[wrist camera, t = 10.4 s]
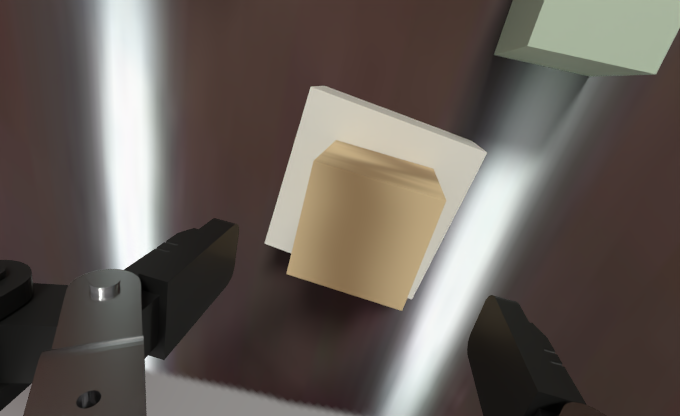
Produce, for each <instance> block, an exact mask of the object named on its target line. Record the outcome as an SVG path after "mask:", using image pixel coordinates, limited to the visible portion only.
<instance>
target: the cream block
mask: <svg viewBox="0 0 680 416" xmlns="http://www.w3.org/2000/svg"><path fill="white" fill-rule="evenodd" d="M336 140H338V141H341V142H345V143H348V144H352V145H355V146H358V147H362V148H365V149H368V150H372V151H375V152H379V153H382V154H385V155H389V156H392V157H396V158H399V159H402V160H406V161H409V162H413V163H416V164H419V165H423V166H426V167H429V168H433V169H434V171H435V174H436V176H437V179H438V181H439V184H440V186H441V188H442V191H443V193H444V196H445V198H446V203H445V205H444V208H443V210H442V213H441V215H440V218H439V220H438V223H437V225H436V228H435V230H434V233H433V235H432V238H431V240H430V243H429V245H428V248H427V250H426V253H425V255H424V258H423V260H422V262H421V265H420V267H419V270H418V272H417V275H416V277H415V280H414V282H413V285H412V287H411V290H410V292H409V295H408V297H407V298H409V299H412V298H413V296H414V294H415V292H416V290H417V288H418V286H419V285H420V283H421V281H422V279H423V277H424V275H425V273H426V271H427V269H428V267H429V265H430V263H431V261H432V259H433V257H434V255H435V253H436V251H437V250H438V248H439V246H440V244H441V242H442V240H443V238H444V236H445V234H446V232H447V230H448V228H449V226H450V224H451V222H452V220H453V218H454V216H455V214H456V213H457V211H458V209H459V207H460V205H461V203H462V201H463V199H464V197H465V195H466V193H467V191H468V189H469V187H470V185H471V183H472V181H473V179H474V177H475V176H476V174H477V172H478V170H479V168H480V166H481V164H482V162H483V160H484V158H485V156H486V154H487V152H486V151H485V150H483V149H482V148H481V147H479V146H478V145H477V144H475V143H474V142H473V141H471V140H468V139H466V138H463V137H460V136H458V135H455V134H452V133H450V132H447V131H444V130H442V129H439V128H436V127H434V126H431V125H428V124H425V123H423V122H420V121H417V120H415V119H412V118H409V117H407V116H404V115H401V114H399V113H396V112H393V111H391V110H388V109H385V108H383V107H380V106H377V105H375V104H372V103H369V102H367V101H364V100H361V99H359V98H356V97H353V96H351V95H348V94H345V93H342V92H340V91H337V90H334V89H332V88H329V87H326V86H313V87H311V88H310V91H309V95H308V98H307V101H306V105H305V108H304V111H303V115H302V118H301V122H300V125H299V128H298V132H297V135H296V139H295V142H294V145H293V149H292V152H291V156H290V159H289V162H288V166H287V169H286V173H285V176H284V179H283V183H282V186H281V190H280V193H279V196H278V200H277V203H276V206H275V210H274V213H273V217H272V220H271V223H270V227H269V230H268V234H267V237H266V240H265V244H267V245H270V246H273V247H275V248H278V249H281V250H283V251H286V252H288V253H292V249H293V244H294V240H295V236H296V232H297V228H298V224H299V219H300V215H301V211H302V207H303V203H304V198H305V194H306V190H307V186H308V182H309V178H310V173H311V169H312V165H313V161H314V160H315V159H316V158H317V157H318V156H319V155H320V154H321V153H322V152H324V151H325V150H326V149H327V148H328V147H329V146H330V145H331V144H332V143H333V142H335V141H336Z"/></svg>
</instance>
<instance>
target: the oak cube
mask: <svg viewBox="0 0 680 416" xmlns="http://www.w3.org/2000/svg"><path fill="white" fill-rule="evenodd" d="M445 203H446V198H445V196H444V193H443V191H442V188H441V186H440V184H439V181H438V179H437V176H436V174H435V171H434V169H433V168H429V167H426V166H423V165H419V164H416V163H413V162H409V161H406V160H402V159H399V158H396V157H392V156H389V155H385V154H382V153H379V152H375V151H372V150H368V149H365V148H362V147H358V146H355V145H352V144H348V143H345V142H341V141H338V140H336V141H335V142H333V143H332V144H331V145H330V146H329V147H328V148H327V149H326V150H325V151H324V152H322V153H321V154H320V155H319V156H318V157H317V158H316V159H315V160H314V161H313V165H312V169H311V173H310V178H309V182H308V186H307V190H306V194H305V198H304V203H303V207H302V211H301V215H300V219H299V224H298V228H297V232H296V236H295V240H294V244H293V249H292V253H291V257H290V261H289V265H288V270H287V274H288V275H291V276H294V277H297V278H301V279H304V280H307V281H310V282H313V283H316V284H319V285H322V286H326V287H329V288H332V289H335V290H338V291H341V292H344V293H347V294H351V295H354V296H357V297H360V298H363V299H366V300H369V301H372V302H376V303H379V304H382V305H385V306H388V307H391V308H394V309H397V310H401V311H402V310H403V307H404V305H405V302H406V300H407V297H408V295H409V292H410V290H411V287H412V285H413V282H414V280H415V277H416V275H417V272H418V270H419V267H420V265H421V262H422V260H423V258H424V255H425V253H426V250H427V248H428V245H429V243H430V240H431V238H432V235H433V233H434V230H435V228H436V225H437V223H438V220H439V218H440V215H441V213H442V210H443V208H444V205H445Z"/></svg>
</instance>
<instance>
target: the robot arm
mask: <svg viewBox="0 0 680 416" xmlns="http://www.w3.org/2000/svg"><path fill="white" fill-rule="evenodd" d="M238 235H239V227H238V225H237V224H234V223H231V222H227V221H223V220H220V219H216V218H214V219H212V220H211V221H209V222H208V223H207V224H205V225H204V226H203V227H201V228H200V229H195V228H193V229H190V230H186V231H183V232H180V233H177V234H176V235H174V236H173V237H171V238H170V239H168V240H167V241H166V243H165V242H164V243H163V244H161V245H160V246H158V247H157V249H154V250H152V251H151V252H149V253H148V254H147V255H145V256H144V257H142V258H141V259H139V260H138V261H136V262H135V263H133V264H132V265H130V266H129V267H127V268H126V269H125V270H120V269H104V270H98V271H93V272H90V273H87V274H84V275H82V276H80V277H78V278H76V279H75V280H73V281H72V282H71V283H70V284H69V285H55V284H38V283H33V280H32V272H31V269H30V267H29V266H28V265H26V264H24V263H22V262H18V261H12V260H0V411H1V410H2V409H3V408H4V407H6V406H7V405H8V404H9V403H10V402H11V401H12V400H13V399H15V398H16V397H17V396H18V395H19V394H20V393H21V392H22V391H24V390H25V389H26V388H27V387H28V386H29V385H30V384H31V383H32V386H31V389H30V393H29V397H28V400H27V404H26V408H25V411H24V415H23V416H146V390H145V360H144V359H145V358H146V357H147V356H148V355H150V356H153V357H156V358H159V359H163V360H165V358H166V357H167V356H168V355H169V354H170V352H171V351H172V350H173V349H174V348H175V346H176V345H177V344H178V343H179V342H180V341H181V339H182V338H183V337H184V336H185V335H186V333H187V332H188V331H189V330H190V329H191V327H192V326H193V325H194V324H195V323H196V322H197V320H198V319H199V318H200V317H201V316H202V314H203V313H204V312H205V311H206V310H207V309H208V307H209V306H210V305H211V304H212V303H213V301H214V300H215V299H216V298H217V297H218V295H219V294H220V293H221V292H222V291H223V290H224V288H225V287H226V286H227V285H228V283H229V281H230V279H231V277H232V274H233V271H234V266H235V258H236V251H237V243H238ZM467 351H468V358H469V362H470V366H471V370H472V374H473V377H474V381H475V385H476V389H477V393H478V397H479V401H480V404H481V408H482V412H483V416H606V415H605V414H603V413H602V412H600V411H598V410H596V409H595V408H593V407H590V406H588V405H586V403H585V401H584V400H583V398H582V396H581V394H580V393H579V391H578V389H577V388H576V386H575V384H574V383H573V381H572V379H571V378H570V376H569V374H568V372H567V371H566V369H565V367H563V366H562V362H561V361H560V359H559V357H558V355H557V354H555V350H554V349H553V347H552V345H551V344H550V342H549V340H548V339H547V337H546V336H545V335H544V334H543V333H542V332H541V331H540V330H539V329H538V328H537V327H536V326H535V325H534V324H533V323H529V321H528V319H527V318H526V316H525V314H524V312H523V310H522V309H521V307H520V305H519V304H518V303H517V302H515V301H511V300H507V299H504V298H500V297H497V296H493V295H491V296H489V297H488V298H487V299H486V301H485V303H484V305H483V308H482V310H481V312H480V314H479V316H478V319H477V321H476V323H475V325H474V327H473V330H472V332H471V334H470V337H469V341H468V349H467Z"/></svg>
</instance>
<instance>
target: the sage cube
mask: <svg viewBox="0 0 680 416" xmlns="http://www.w3.org/2000/svg"><path fill="white" fill-rule="evenodd" d="M679 28H680V0H513V1H512V4H511V7H510V10H509V13H508V16H507V18H506V21H505V24H504V27H503V30H502V33H501V36H500V39H499V42H498V44H497V47H496V50H495V53H494V55H496V56H500V57H505V58H509V59H514V60H518V61H522V62H527V63H531V64H536V65H540V66H545V67H549V68H554V69H558V70H563V71H567V72H572V73H576V74H580V75H585V76H621V75H652V74H656V73H657V71H658V69H659V67H660V65H661V63H662V61H663V59H664V57H665V55H666V53H667V51H668V49H669V48H670V46H671V44H672V42H673V40H674V38H675V36H676V34H677V32H678V30H679Z"/></svg>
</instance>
